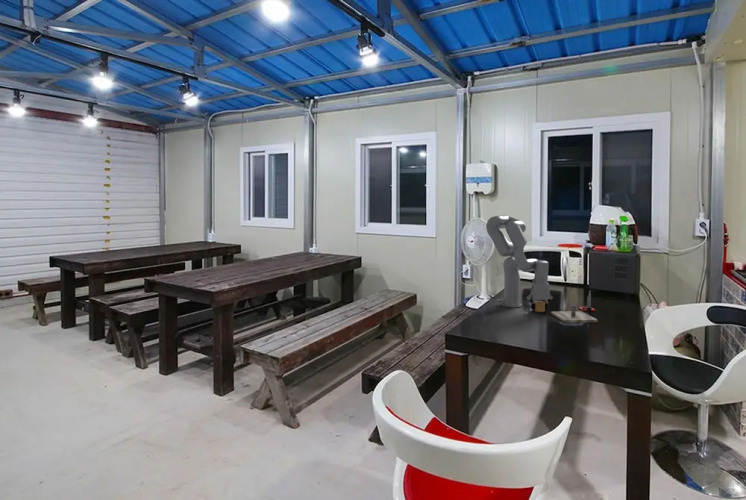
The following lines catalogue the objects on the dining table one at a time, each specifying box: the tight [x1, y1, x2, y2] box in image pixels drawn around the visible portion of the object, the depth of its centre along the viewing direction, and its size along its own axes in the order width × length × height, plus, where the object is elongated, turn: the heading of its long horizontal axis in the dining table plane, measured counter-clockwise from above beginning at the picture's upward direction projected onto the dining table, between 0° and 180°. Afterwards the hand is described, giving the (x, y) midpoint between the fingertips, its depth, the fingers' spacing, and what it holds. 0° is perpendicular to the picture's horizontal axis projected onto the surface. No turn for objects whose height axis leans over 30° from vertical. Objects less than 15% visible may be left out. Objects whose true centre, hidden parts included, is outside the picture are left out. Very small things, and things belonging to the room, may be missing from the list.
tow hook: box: [578, 290, 596, 313], centre depth 260 cm, size 8×13×9 cm
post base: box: [550, 304, 598, 324], centre depth 243 cm, size 18×18×8 cm
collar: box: [533, 300, 546, 313], centre depth 258 cm, size 6×6×5 cm
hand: (539, 309), depth 258 cm, fingers closed on collar, 6 cm apart
